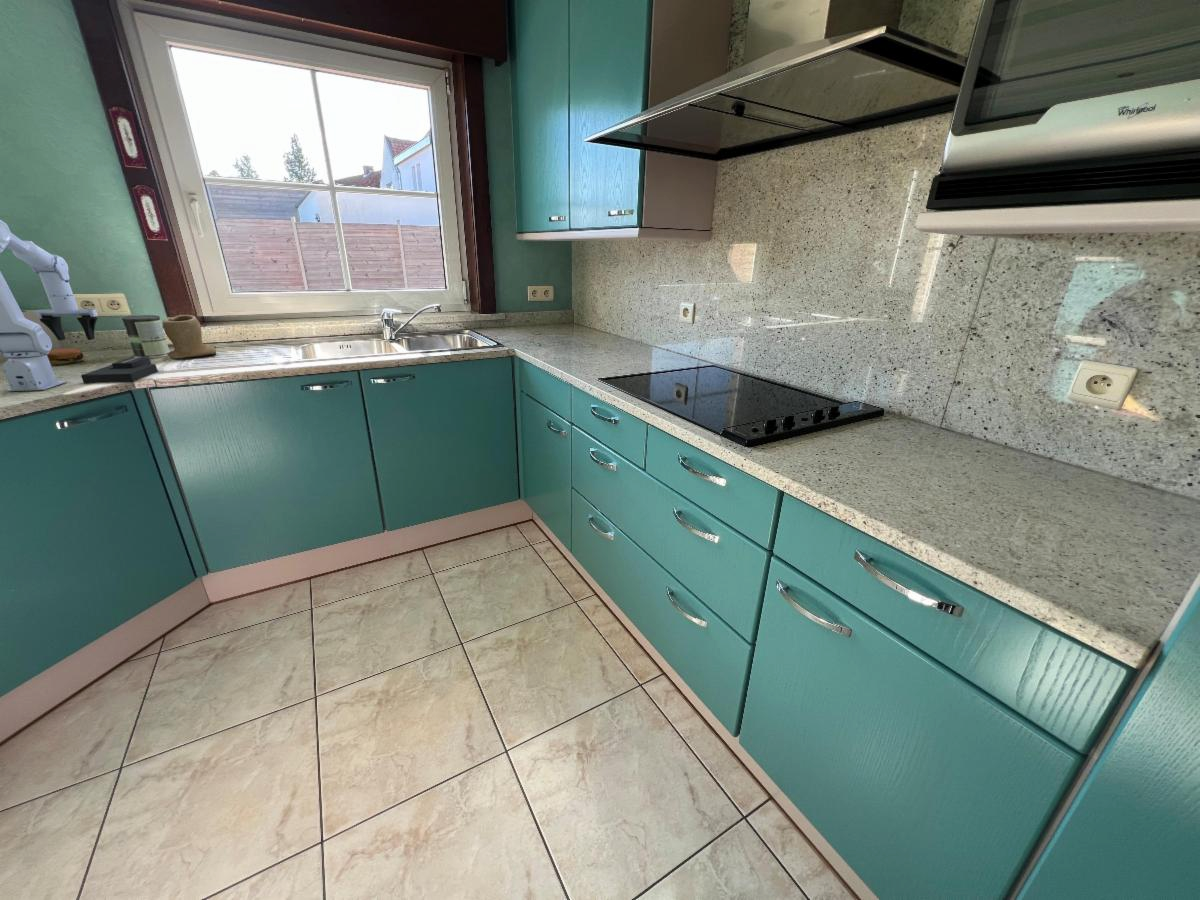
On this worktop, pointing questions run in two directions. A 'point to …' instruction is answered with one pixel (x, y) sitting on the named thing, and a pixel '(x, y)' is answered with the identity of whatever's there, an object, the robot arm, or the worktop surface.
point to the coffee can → (146, 336)
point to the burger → (64, 356)
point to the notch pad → (119, 374)
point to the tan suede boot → (186, 337)
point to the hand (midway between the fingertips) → (76, 339)
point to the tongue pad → (131, 362)
